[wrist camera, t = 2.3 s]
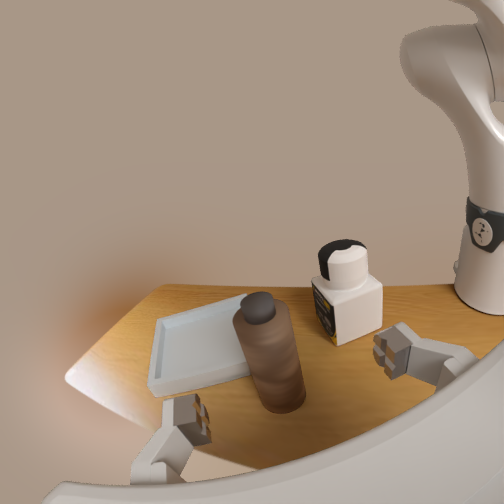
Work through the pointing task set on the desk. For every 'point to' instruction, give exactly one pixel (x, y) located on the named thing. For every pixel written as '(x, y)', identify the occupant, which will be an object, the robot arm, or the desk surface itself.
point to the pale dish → (196, 349)
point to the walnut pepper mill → (270, 351)
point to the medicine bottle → (346, 292)
